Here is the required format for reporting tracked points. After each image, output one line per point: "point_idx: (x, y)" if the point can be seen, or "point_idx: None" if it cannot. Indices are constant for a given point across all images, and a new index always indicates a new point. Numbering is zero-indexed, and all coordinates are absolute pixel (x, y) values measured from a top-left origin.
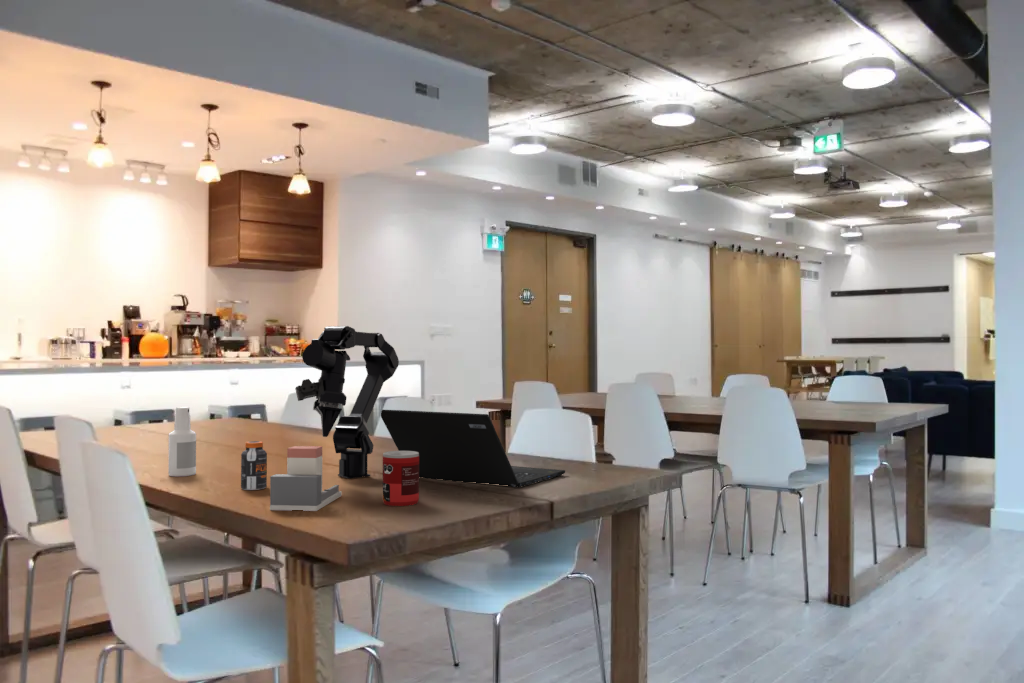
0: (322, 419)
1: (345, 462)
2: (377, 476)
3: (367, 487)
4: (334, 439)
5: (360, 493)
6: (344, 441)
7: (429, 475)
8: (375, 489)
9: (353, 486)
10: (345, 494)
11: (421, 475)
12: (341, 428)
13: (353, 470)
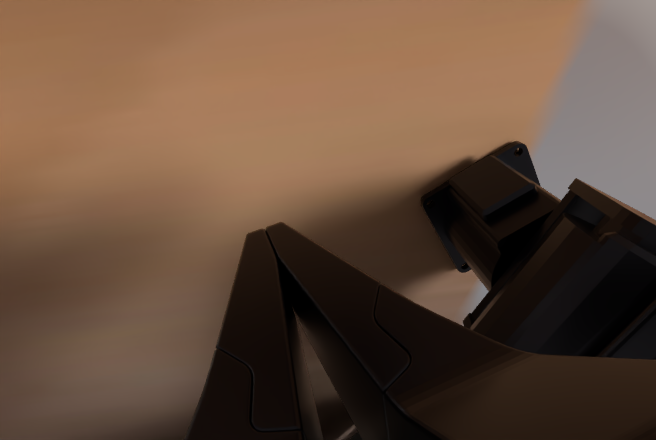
0: (204, 392)
1: (478, 215)
2: (463, 287)
3: (216, 287)
4: (615, 218)
5: (73, 282)
6: (520, 286)
7: (353, 437)
8: (172, 317)
9: (241, 236)
10: (37, 232)
11: None
12: (619, 334)
13: (455, 229)
